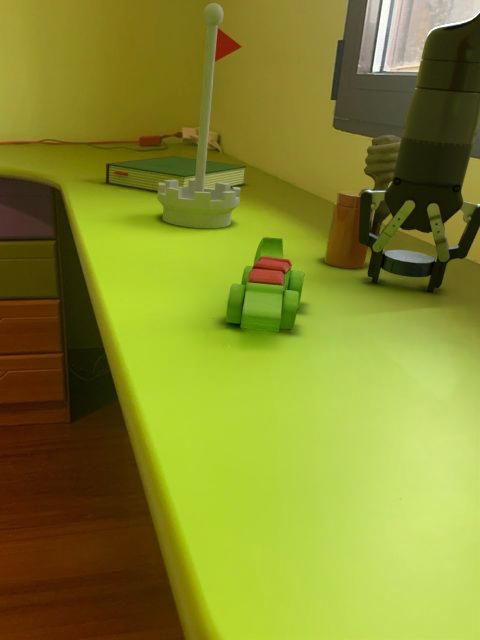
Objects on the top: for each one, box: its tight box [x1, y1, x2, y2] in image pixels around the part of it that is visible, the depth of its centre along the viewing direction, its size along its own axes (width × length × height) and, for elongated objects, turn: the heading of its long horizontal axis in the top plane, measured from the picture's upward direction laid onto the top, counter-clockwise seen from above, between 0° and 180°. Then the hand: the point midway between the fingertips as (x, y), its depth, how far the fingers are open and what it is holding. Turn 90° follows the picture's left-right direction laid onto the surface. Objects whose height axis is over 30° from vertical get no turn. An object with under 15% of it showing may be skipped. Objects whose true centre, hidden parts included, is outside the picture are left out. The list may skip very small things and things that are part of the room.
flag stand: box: [156, 2, 243, 229], centre depth 104 cm, size 13×13×30 cm
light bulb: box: [360, 134, 402, 237], centre depth 101 cm, size 6×6×15 cm
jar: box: [323, 190, 375, 269], centre depth 90 cm, size 5×5×9 cm
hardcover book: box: [105, 155, 247, 193], centre depth 143 cm, size 25×19×4 cm
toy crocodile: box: [225, 236, 306, 333], centre depth 69 cm, size 20×7×6 cm, turn 166°
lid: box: [381, 249, 435, 278], centre depth 82 cm, size 6×6×2 cm
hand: (402, 285), depth 83 cm, fingers closed on lid, 6 cm apart
